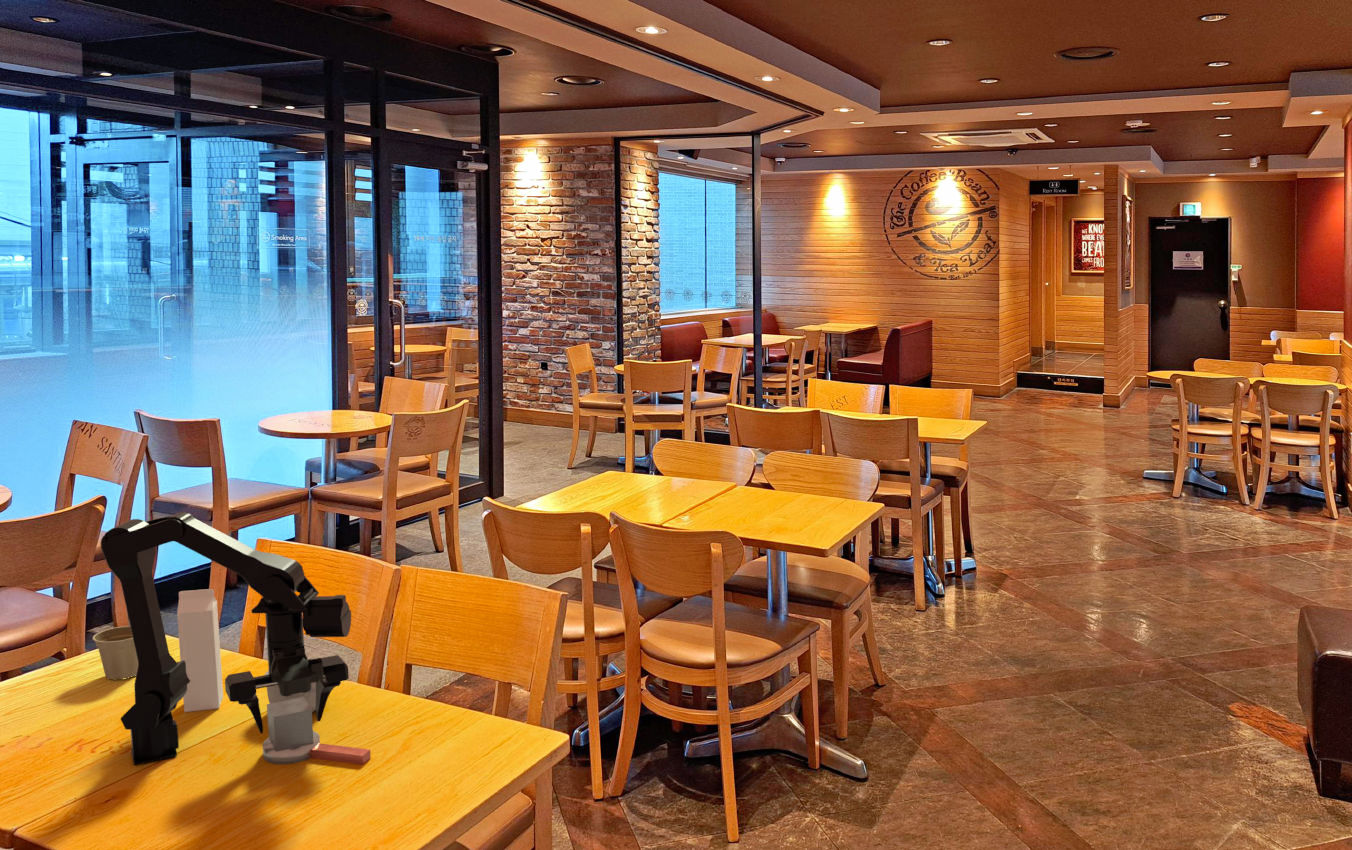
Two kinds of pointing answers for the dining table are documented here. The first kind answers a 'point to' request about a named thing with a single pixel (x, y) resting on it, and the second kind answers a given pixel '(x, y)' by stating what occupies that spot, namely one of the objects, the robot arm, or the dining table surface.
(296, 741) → the matte grey cube
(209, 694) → the milk
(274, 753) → the pan with red handle
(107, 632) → the flower pot
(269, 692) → the teacup
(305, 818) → the dining table surface
